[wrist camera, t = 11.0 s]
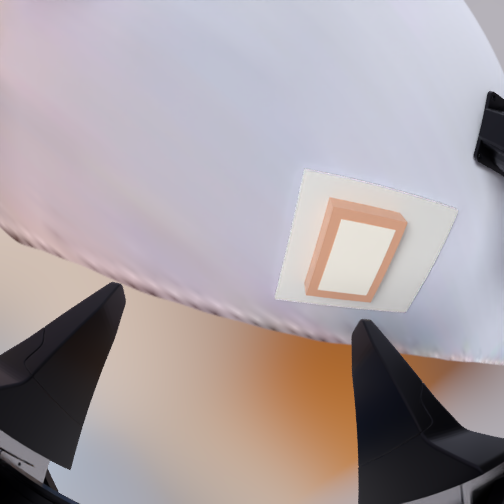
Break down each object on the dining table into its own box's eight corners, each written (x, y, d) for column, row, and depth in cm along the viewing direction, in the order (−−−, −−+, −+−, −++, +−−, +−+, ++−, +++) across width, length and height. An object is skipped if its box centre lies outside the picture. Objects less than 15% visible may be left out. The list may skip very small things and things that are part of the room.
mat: (455, 208, 19) (458, 210, 18) (403, 309, 25) (405, 312, 25) (304, 168, 18) (304, 170, 18) (274, 295, 25) (274, 299, 25)
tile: (408, 223, 18) (333, 206, 18) (370, 303, 22) (305, 295, 22) (399, 212, 19) (329, 197, 19) (366, 290, 24) (304, 282, 23)
